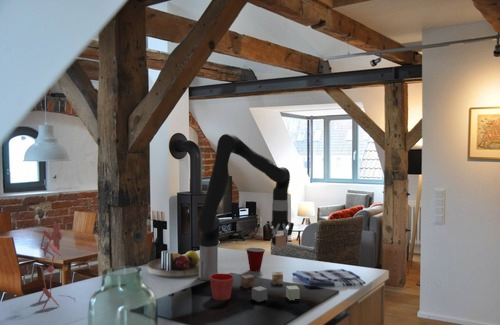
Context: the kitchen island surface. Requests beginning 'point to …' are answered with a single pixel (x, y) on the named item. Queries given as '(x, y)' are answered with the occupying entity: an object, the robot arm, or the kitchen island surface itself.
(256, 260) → the plastic cup
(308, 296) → the kitchen island surface
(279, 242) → the terracotta cube
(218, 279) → the flower pot
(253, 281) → the walnut cube
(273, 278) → the oak cube
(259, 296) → the slate cube
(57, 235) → the figurine
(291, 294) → the sage cube
